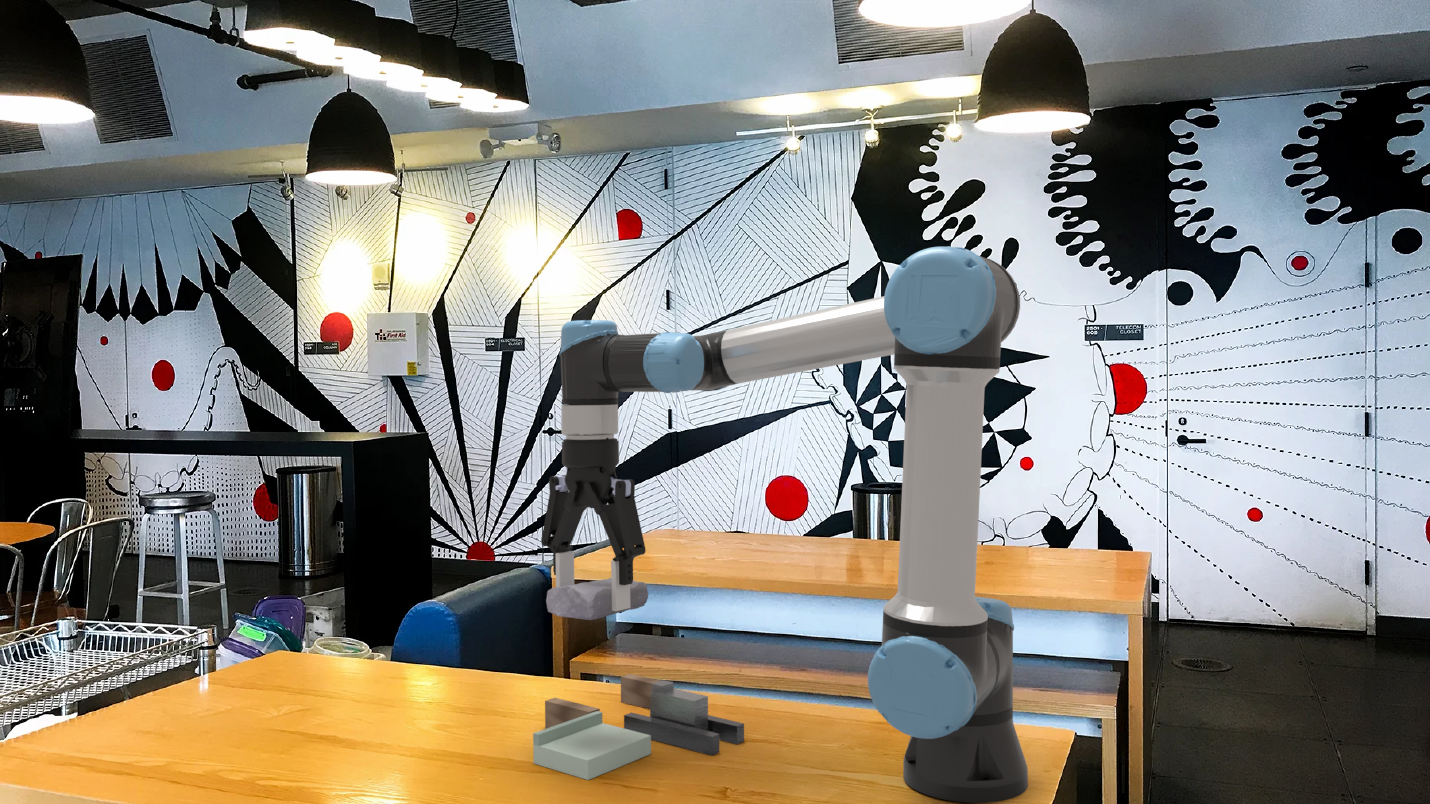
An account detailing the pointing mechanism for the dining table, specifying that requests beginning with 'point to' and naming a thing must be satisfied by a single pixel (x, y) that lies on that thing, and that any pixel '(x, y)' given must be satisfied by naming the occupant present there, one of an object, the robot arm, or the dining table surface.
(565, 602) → the stone block
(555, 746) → the pale green ledge block
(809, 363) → the robot arm
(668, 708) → the grey metal block
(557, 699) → the brown piece
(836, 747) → the dining table surface
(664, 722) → the guide
